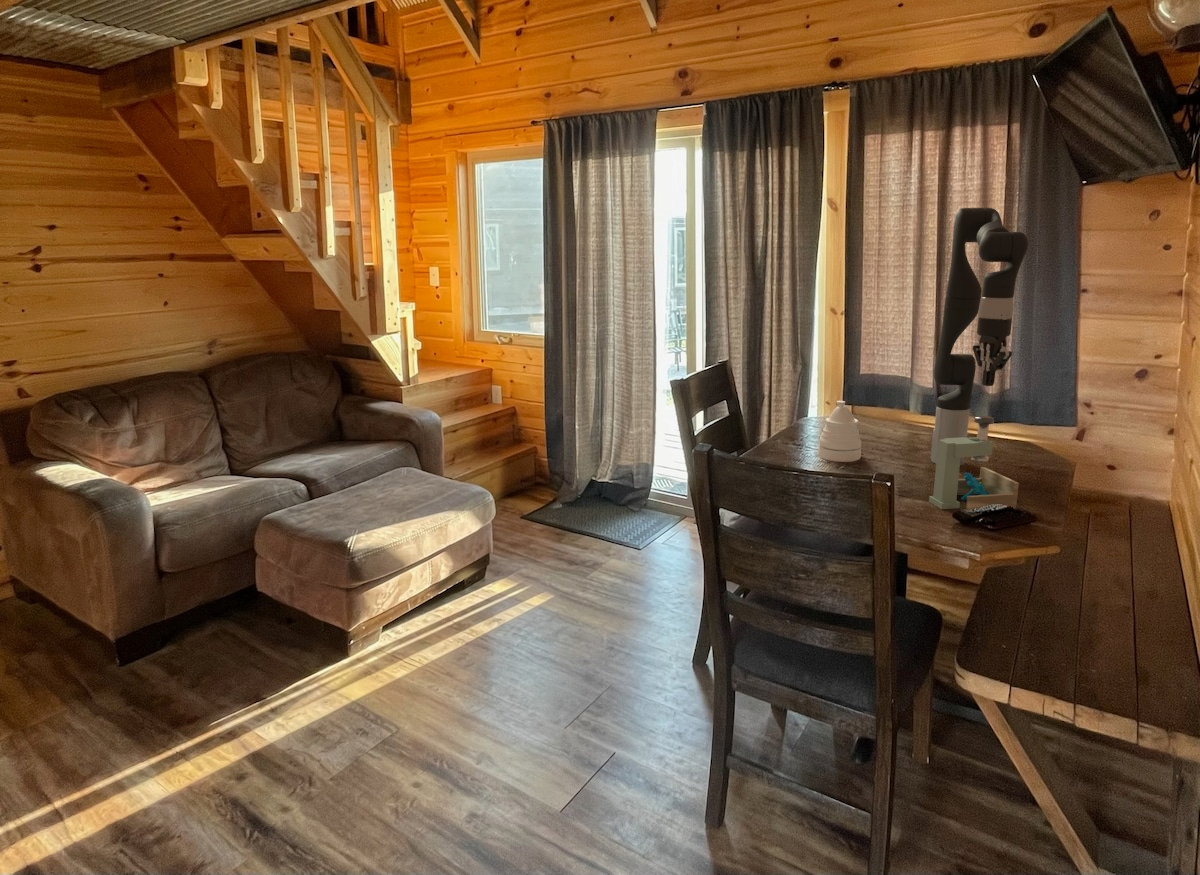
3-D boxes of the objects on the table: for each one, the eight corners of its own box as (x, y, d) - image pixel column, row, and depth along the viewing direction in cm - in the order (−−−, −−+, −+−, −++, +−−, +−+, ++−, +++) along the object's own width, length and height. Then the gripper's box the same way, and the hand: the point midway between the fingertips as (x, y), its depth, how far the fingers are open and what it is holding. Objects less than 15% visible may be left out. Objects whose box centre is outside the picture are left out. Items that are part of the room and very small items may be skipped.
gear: (991, 504, 202) (965, 472, 205) (971, 517, 205) (945, 486, 208) (998, 498, 211) (972, 468, 214) (979, 511, 214) (954, 481, 217)
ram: (966, 458, 207) (971, 416, 205) (982, 457, 208) (987, 415, 205) (976, 462, 203) (981, 419, 200) (992, 462, 204) (997, 419, 201)
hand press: (928, 501, 210) (934, 438, 206) (973, 498, 212) (980, 436, 207) (941, 509, 204) (947, 444, 200) (987, 506, 206) (994, 442, 202)
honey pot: (853, 464, 245) (857, 406, 240) (812, 458, 252) (815, 402, 247) (865, 454, 255) (869, 398, 251) (825, 449, 262) (828, 394, 258)
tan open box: (936, 494, 214) (938, 469, 213) (981, 491, 216) (984, 467, 214) (968, 512, 201) (970, 485, 199) (1015, 509, 202) (1018, 482, 201)
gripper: (965, 313, 202) (958, 381, 207) (998, 319, 190) (990, 391, 194) (993, 313, 203) (985, 380, 208) (1027, 318, 191) (1018, 389, 195)
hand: (987, 385), depth 201 cm, fingers closed
